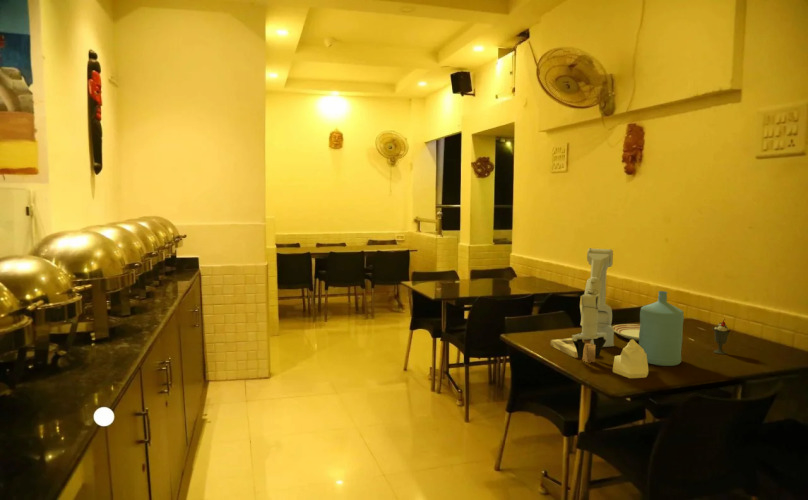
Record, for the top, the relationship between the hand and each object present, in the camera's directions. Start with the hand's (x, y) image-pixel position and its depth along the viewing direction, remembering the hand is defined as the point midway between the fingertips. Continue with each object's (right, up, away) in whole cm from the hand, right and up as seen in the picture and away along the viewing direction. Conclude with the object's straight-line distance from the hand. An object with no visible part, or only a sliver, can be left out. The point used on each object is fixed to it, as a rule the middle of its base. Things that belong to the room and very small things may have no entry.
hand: (588, 356), depth 207 cm
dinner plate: (+38, +2, +35) cm, 51 cm away
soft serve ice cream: (+12, -4, -13) cm, 18 cm away
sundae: (+59, -1, +11) cm, 60 cm away
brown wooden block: (0, -2, 0) cm, 2 cm away
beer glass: (+19, +4, +55) cm, 58 cm away
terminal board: (-1, 0, +14) cm, 14 cm away
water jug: (+29, -2, +1) cm, 29 cm away
